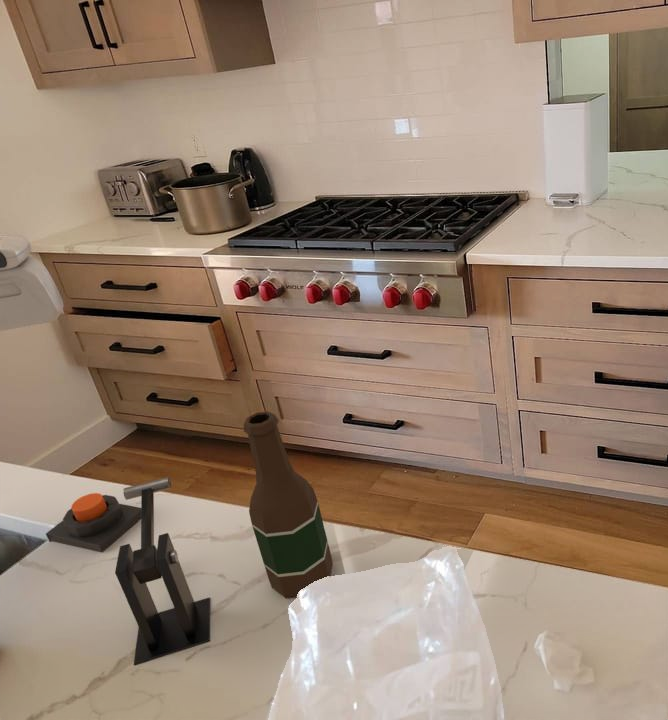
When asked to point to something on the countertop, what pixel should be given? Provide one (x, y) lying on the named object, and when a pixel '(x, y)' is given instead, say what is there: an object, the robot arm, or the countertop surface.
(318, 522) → the beer bottle
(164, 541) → the power switch
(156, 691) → the countertop surface
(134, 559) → the power lever
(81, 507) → the button
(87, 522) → the panel
